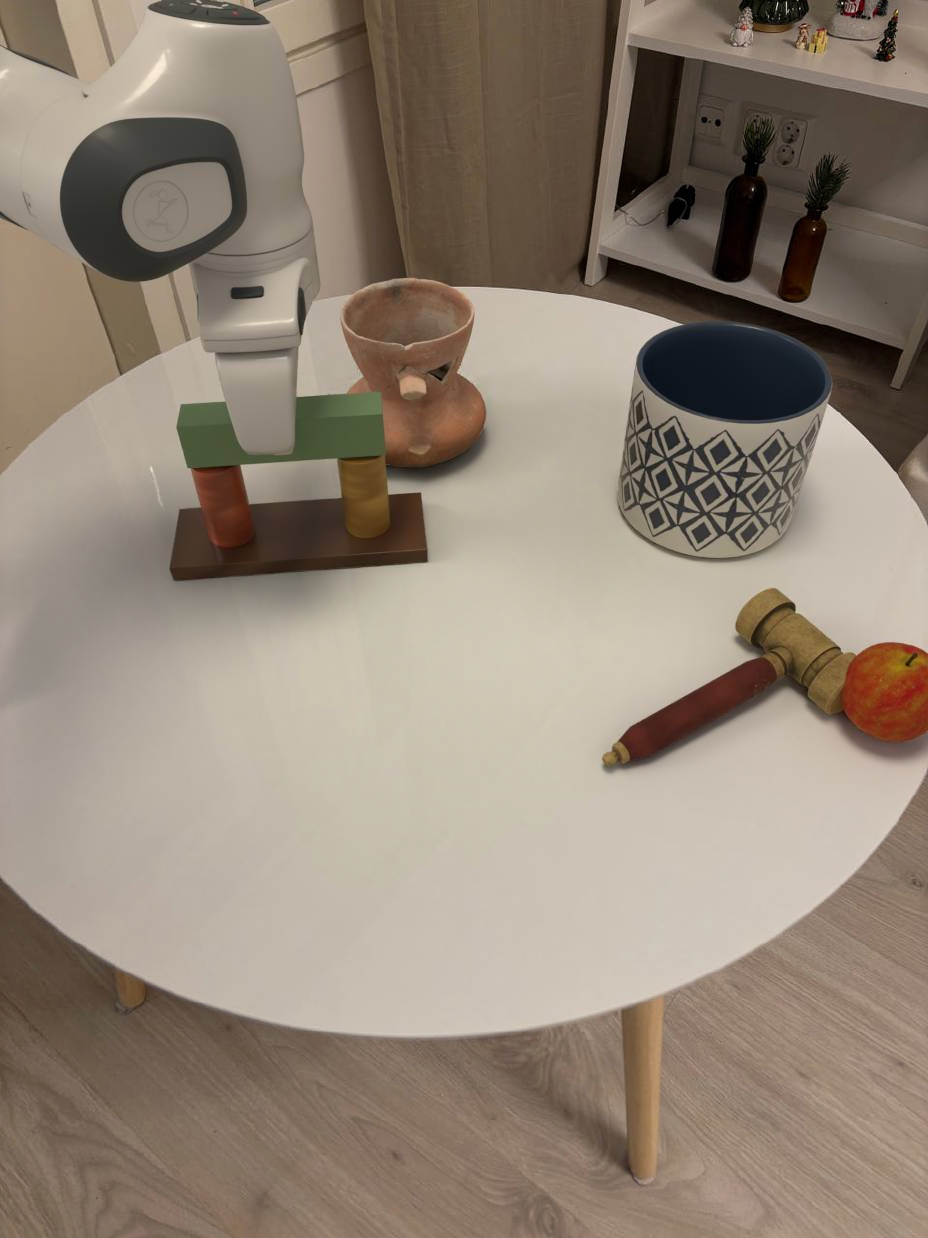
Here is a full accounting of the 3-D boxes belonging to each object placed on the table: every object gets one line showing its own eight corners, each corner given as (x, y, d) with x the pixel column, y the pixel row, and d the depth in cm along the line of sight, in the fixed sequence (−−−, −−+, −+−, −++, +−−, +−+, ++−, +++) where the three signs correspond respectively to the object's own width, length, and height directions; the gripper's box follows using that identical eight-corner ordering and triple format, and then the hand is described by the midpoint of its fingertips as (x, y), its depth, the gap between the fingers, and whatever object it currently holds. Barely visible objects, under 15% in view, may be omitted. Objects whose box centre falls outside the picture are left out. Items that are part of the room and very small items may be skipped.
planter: (805, 478, 90) (848, 342, 79) (769, 583, 80) (813, 443, 69) (645, 439, 94) (666, 305, 84) (593, 533, 84) (609, 394, 74)
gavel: (651, 797, 61) (563, 695, 67) (645, 832, 65) (562, 732, 71) (882, 659, 68) (783, 578, 74) (865, 698, 71) (772, 617, 77)
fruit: (824, 680, 72) (855, 607, 66) (919, 692, 71) (958, 619, 66) (833, 753, 67) (867, 681, 62) (934, 767, 67) (978, 695, 61)
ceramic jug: (493, 487, 89) (496, 353, 79) (341, 495, 89) (324, 360, 78) (477, 384, 102) (477, 257, 92) (343, 391, 101) (329, 263, 91)
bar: (187, 468, 75) (175, 426, 72) (191, 445, 78) (180, 403, 75) (386, 455, 76) (382, 413, 73) (384, 432, 79) (381, 391, 76)
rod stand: (173, 581, 81) (145, 493, 74) (183, 521, 86) (158, 434, 79) (427, 562, 82) (423, 474, 75) (421, 504, 88) (417, 418, 81)
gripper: (221, 209, 73) (251, 367, 83) (195, 344, 59) (235, 515, 69) (303, 205, 73) (323, 363, 83) (297, 338, 59) (322, 509, 69)
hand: (283, 433), depth 76 cm, fingers closed on bar, 3 cm apart
